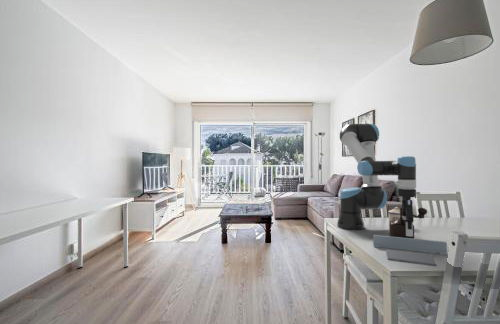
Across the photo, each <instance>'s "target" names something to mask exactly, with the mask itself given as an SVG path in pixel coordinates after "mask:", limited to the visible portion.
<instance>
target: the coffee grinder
mask: <svg viewBox="0 0 500 324" xmlns="http://www.w3.org/2000/svg"><path fill="white" fill-rule="evenodd" d="M399 209H400V219H397V220H395V221H389V220H388V236H391V237H401V238H412V239H415V225H414V224H413V237H412V236H406V222H405V220H404V219H403V218H402V213H403V214H405V215H406V213H404V212H403V211H402V210H403V209H402V207H401V208H399ZM417 213H418V214H417V215H415V214H413V218H417V219H425V216H426V215H427V214H428V210H427V209H426V208H424V207H419V208H417Z"/></svg>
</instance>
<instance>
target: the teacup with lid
mask: <svg viewBox="0 0 500 324" xmlns="http://www.w3.org/2000/svg"><path fill="white" fill-rule="evenodd" d="M397 219H400V208H399V207H398V206H397V207H396V206H395V207H394V208H393V209H390V210H388V222H389V221H395V220H397Z"/></svg>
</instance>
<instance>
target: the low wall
mask: <svg viewBox="0 0 500 324" xmlns="http://www.w3.org/2000/svg"><path fill="white" fill-rule="evenodd" d="M372 239H373V240H372V243H373V244H372V245H373V248H379V249H380V248H387V249H393V250H402V251H405V250H406V251H411V252H420V253H429V254H431V253H433V254H439V255H440V256H447V255H448V254H447V253H448V249H447V247H448V245H447V241H443V240H442V241H441V240H431V239H430V240H429V239H420V238H414V239H412V238H401V237H391V236H389V235H380V234H379V235H378V234H373V237H372Z"/></svg>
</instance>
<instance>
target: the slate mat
mask: <svg viewBox="0 0 500 324" xmlns="http://www.w3.org/2000/svg"><path fill="white" fill-rule="evenodd" d="M385 250H386V251H385V252H386V257H387V260H388V261H394V262H395V261H396V262H404V263H410V264H411V263H413V264H420V265H428V266H434V267H435V266H437V264H436V262H435V261H434V258H432V255H430V254H431V253H426V252H417V251H408V250H406V251H405V250H399V249H390V248H387V249H385Z"/></svg>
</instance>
